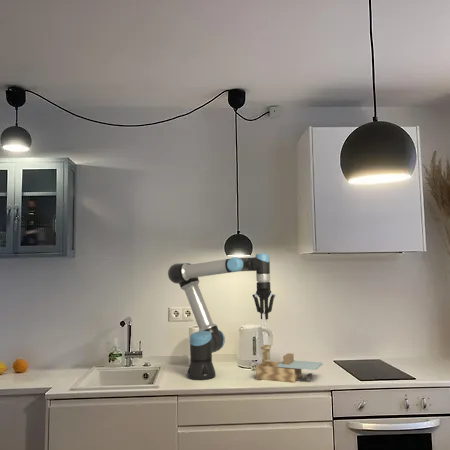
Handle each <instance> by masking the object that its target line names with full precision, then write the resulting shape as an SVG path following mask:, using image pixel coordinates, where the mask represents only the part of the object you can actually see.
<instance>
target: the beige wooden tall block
mask: <svg viewBox="0 0 450 450" xmlns="http://www.w3.org/2000/svg"><path fill="white" fill-rule="evenodd" d="M271 346H272V345H271V344H262V345H260V350H261V361H262V362H261V363H263V362H265V361H271V348H272V347H271Z"/></svg>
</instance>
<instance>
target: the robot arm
mask: <svg viewBox="0 0 450 450" xmlns="http://www.w3.org/2000/svg"><path fill="white" fill-rule="evenodd" d="M270 263H271V261H270V254H269V253H266V252H265V253H256V254H255V256H254V257H237V256H236V257H235V256H234V257H230V258H224V259H218V260H211V261H206V262H204V261H203V262H198V263H189V262H184V263H179V262H178V263H173V264H172V265H171V266H170V267H169V269H168V270H167V271H168V272H167V277H168V279H169V280H170V281H171V282H172V283H174V284H179V287H180V289H181V290H183V291H184V293H185V295H186V298H187V301H188V304H189V305H190V308H191V312H192V314H193V316H194V319H195V322H196V324H197V327H198V330H197V331H194V332H192V333H191V334H190V335H189V337H190V338H189V354H190V355H189V356H190V360H189V361H190V362H189V366H188V371H187V373H186V374H187V378H188V379H189V380H192V381H193V380H194V381H203V380H206V381H207V380H211V379H214V378H215V377H216V370H215V367H214V363H213V353H216V352H218V351H220V350H221V349H222V348H223V347H224V345H225V343H226V339H225V338H226V337H225V335H224V333H223V331H221V330H220V329H219V328H218V325H217V324H216V323H213V320H212V318H211V315H210V311H209V310H208V307H207V304H206V302H205V300H204V297H203V294H202V292H201V289H200V286H199V283H200V280H199V278H200V277H201V278H202V277H209V276H214V275H215V276H216V275H222V274H228V273H229V274H230V273H238V272H255V274H256V277H255V279H256V291H255V293H254V294H252V298H253V300H254V304H255V308H256V312H257V313H259V314H260V319H261V320H262V321H261V322H262V327H264V326H265V327H266V326H268V323H267V322H268V320H269V313H271V312H272V310H273V304H274V301H275V297H276V294H274V293H273V292H272V291H271V264H270Z"/></svg>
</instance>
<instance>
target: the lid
mask: <svg viewBox="0 0 450 450" xmlns="http://www.w3.org/2000/svg"><path fill="white" fill-rule="evenodd" d="M282 359H283V360H282V361H280V362H281V363H279V364H278V365H277V367H284V368H296V369H301V370H310V371H311V370H312V371H317V370H319V368H320V367H321V366H323V362H319V361H307V360H306V361H305V360H294V353H285V355H283V356H282Z"/></svg>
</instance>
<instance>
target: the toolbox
mask: <svg viewBox="0 0 450 450" xmlns="http://www.w3.org/2000/svg"><path fill="white" fill-rule="evenodd" d="M281 362H282V361H271V360H270V361H265V362H263V363H262V362H261V363H260V364H258V365H256V380H257V381H271V382H281V383H291V384H292V383H293V384H295V383H296V382H300V383H301V382H303V383H310V382H311V381H312V380H313V373H312V372H308V373H307V374H306V375H305V378H302V376H303V373H302V371H303V369H296V368H284V367H277V365H278V364H279V363H281Z"/></svg>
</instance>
